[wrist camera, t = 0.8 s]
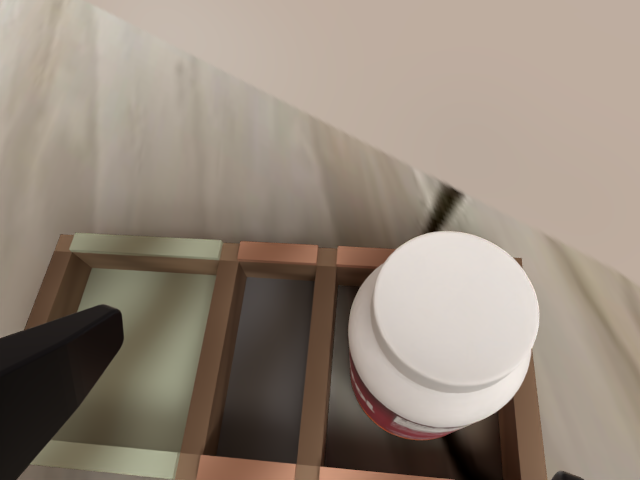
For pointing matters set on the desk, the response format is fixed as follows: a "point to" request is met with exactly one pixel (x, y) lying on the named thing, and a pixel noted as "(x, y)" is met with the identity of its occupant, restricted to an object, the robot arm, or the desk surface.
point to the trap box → (223, 360)
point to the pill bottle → (441, 335)
